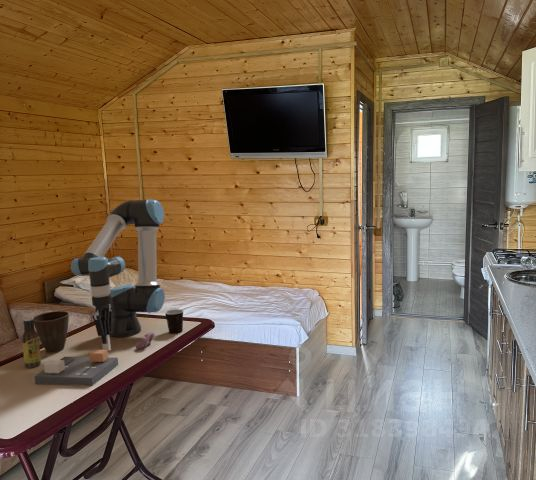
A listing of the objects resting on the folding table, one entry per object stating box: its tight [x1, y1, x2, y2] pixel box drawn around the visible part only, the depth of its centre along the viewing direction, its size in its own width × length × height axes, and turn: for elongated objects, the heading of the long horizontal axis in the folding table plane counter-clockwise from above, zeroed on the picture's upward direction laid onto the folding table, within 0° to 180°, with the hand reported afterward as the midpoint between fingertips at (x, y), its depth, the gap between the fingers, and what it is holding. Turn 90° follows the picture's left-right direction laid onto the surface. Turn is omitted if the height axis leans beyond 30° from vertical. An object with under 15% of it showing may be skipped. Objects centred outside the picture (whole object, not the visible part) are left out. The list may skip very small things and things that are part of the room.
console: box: [34, 356, 119, 386], centre depth 200 cm, size 20×24×3 cm
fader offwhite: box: [43, 359, 65, 373], centre depth 196 cm, size 4×6×4 cm, turn 79°
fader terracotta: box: [88, 349, 109, 362], centre depth 205 cm, size 4×6×4 cm, turn 79°
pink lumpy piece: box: [135, 332, 155, 350], centre depth 228 cm, size 10×5×7 cm, turn 169°
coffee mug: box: [164, 308, 184, 335], centre depth 244 cm, size 12×9×10 cm
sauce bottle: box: [21, 317, 42, 369], centre depth 211 cm, size 6×6×20 cm
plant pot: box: [33, 310, 70, 354], centre depth 229 cm, size 15×15×16 cm
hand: (107, 350), depth 211 cm, fingers closed
